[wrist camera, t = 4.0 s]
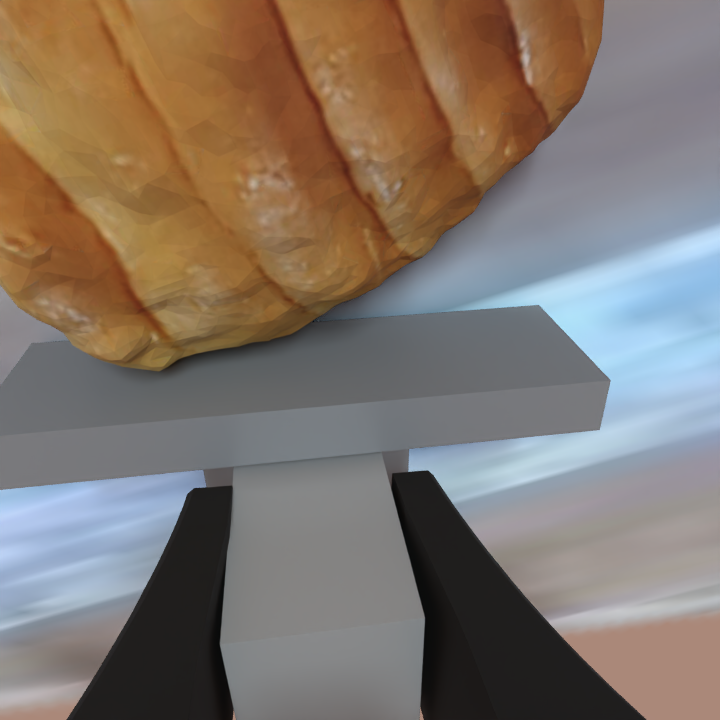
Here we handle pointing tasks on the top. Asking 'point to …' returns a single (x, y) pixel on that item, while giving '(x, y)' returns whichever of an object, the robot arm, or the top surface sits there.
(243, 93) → the pastry
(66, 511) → the top surface
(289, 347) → the pusher
